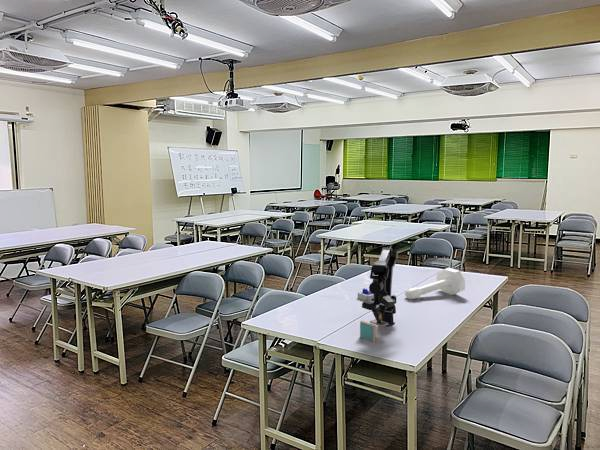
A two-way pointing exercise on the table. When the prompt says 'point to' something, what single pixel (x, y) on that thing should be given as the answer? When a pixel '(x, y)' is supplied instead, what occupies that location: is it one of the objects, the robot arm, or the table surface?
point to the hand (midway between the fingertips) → (379, 319)
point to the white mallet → (440, 284)
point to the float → (379, 321)
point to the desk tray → (365, 296)
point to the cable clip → (366, 292)
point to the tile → (368, 331)
